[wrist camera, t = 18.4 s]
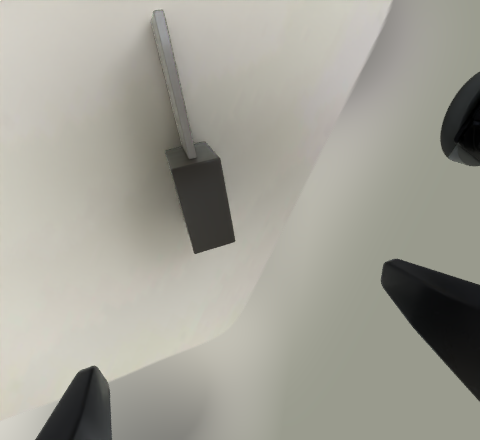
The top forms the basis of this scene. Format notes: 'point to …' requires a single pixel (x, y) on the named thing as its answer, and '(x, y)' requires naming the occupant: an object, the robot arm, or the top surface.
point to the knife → (193, 163)
